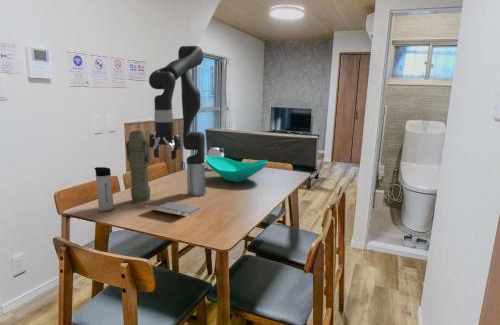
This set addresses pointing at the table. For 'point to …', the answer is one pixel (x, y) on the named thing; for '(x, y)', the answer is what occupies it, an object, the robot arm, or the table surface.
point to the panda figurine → (215, 153)
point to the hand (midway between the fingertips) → (165, 158)
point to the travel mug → (104, 189)
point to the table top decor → (234, 168)
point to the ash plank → (167, 210)
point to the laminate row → (179, 207)
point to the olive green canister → (138, 166)
